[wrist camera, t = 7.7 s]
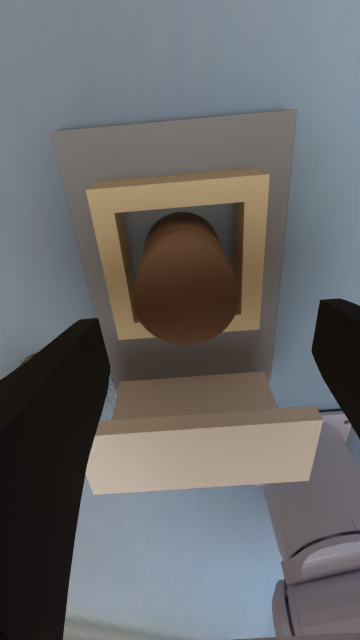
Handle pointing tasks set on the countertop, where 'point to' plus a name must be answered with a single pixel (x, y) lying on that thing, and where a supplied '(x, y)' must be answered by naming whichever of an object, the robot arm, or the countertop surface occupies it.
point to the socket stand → (203, 358)
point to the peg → (184, 281)
